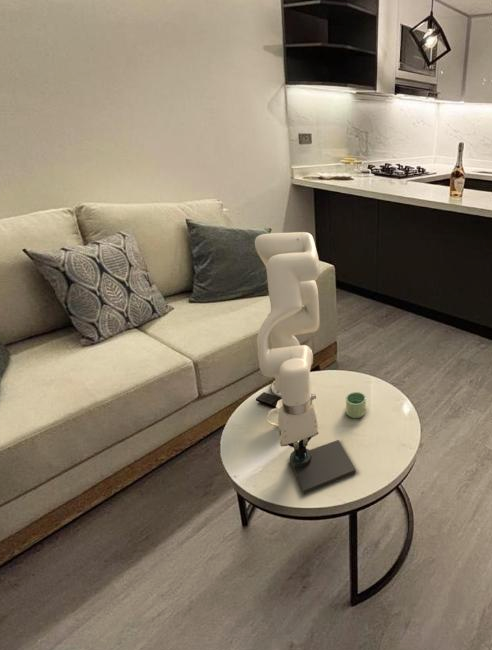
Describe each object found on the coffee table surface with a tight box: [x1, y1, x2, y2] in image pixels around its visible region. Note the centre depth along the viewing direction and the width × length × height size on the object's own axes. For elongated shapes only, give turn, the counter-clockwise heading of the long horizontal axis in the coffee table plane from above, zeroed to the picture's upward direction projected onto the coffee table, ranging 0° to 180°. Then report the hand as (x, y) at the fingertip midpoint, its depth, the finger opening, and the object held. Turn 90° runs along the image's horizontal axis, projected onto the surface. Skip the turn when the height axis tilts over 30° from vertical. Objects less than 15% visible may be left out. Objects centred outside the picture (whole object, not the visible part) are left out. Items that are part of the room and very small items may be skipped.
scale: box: [289, 439, 357, 495], centre depth 116 cm, size 14×16×3 cm
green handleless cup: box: [345, 391, 367, 419], centre depth 137 cm, size 7×7×6 cm
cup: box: [266, 398, 282, 427], centre depth 130 cm, size 7×10×8 cm
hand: (300, 455), depth 116 cm, fingers closed
